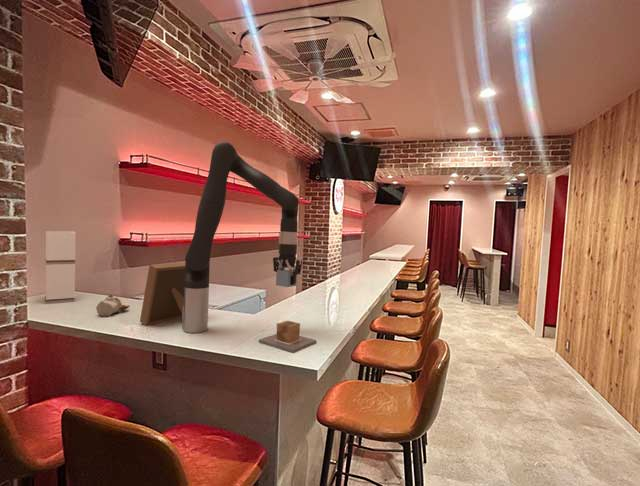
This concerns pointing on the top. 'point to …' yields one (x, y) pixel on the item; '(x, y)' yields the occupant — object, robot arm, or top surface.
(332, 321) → the top surface
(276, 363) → the top surface
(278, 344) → the base plate
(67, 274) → the white stacked pillar
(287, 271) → the slate block
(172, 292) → the photo frame
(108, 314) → the ceramic sculpture
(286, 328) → the walnut block
